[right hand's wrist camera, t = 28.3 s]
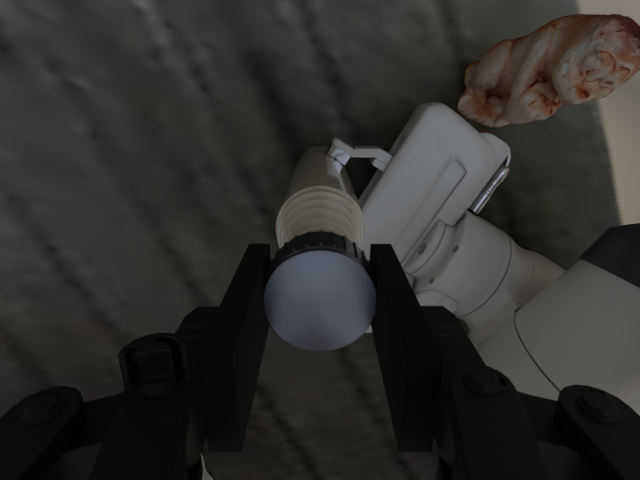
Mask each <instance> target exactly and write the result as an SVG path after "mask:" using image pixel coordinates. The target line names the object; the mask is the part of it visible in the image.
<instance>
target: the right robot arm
mask: <svg viewBox="0 0 640 480" xmlns="http://www.w3.org/2000/svg"><path fill="white" fill-rule="evenodd" d="M270 262H271V257H270V244H249V245H248V248H247V250H246V252H245V254H244V256H243V258H242V260H241V262H240V264H239V266H238V269H237V271H236V273H235V275H234V277H233V279H232V281H231V283H230V285H229V287H228V290H227V292H226V294H225V296H224V298H223V300H222V302H221V304H220V306H219V307H197V308H196V309H194V310H193V311H192V312H190V313H189V314H188V315H186V316H185V318H184V319H183V321H182V323H181V324H180V326H179V329H177V331H176V332H175V334H172V333H156V334H151V335H146V336H143V337H141V338H138V339H136V340H134V341H132V342H131V343H129V344H128V345H126V346H125V347H124V348H123V349H122V350H121V351H120V353H119V354H118V358H119V363H120V368H121V372H122V377H123V381H124V386H125V388H124V391H123V393H120V394H117V395H113V396H110V397H105V398H101V399H96V400H92V401H87V402H83V398H82V394H81V393H80V392H79V391H78V390H77V389H76V388H72V387H68V386H61V387H52V388H49V389H45V390H42V391H39V392H36V393H34V394H32V395H30V396H28V397H26V398H24V399H23V400H21V401H20V402H19V403H17V404H16V405H15V406H13V407H12V408H11V409H10V410H9V411H7V412H6V413H5V414H4V415H3V416H2V417H1V418H0V480H202V475H203V465H202V458H201V452H202V449H203V446H204V443H205V440H206V437H207V440H208V448H209V452H242V447H243V443H244V438H245V433H246V429H247V424H248V420H249V415H250V411H251V406H252V402H253V397H254V393H255V388H256V384H257V379H258V374H259V370H260V365H261V361H262V356H263V352H264V347H265V343H266V338H267V334H268V329H269V323H268V321H267V319H266V316H265V307H264V288H265V284H266V281H267V278H266V275H267V272H268V269H269V265H270ZM370 264H371V268H372V271H373V274H374V278H373V280H374V284H375V287H376V311H375V317H374V319H373V321H372V323H371V328H372V332H373V337H374V341H375V346H376V351H377V355H378V360H379V364H380V369H381V373H382V378H383V382H384V387H385V391H386V396H387V401H388V405H389V410H390V414H391V419H392V423H393V428H394V432H395V437H396V441H397V446H398V451H399V452H431V449H432V442H433V434H434V437H435V440H436V443H437V446H438V449H439V458H438V465H437V472H436V479H435V480H640V415H639V414H637V413H636V412H635V411H634V410H633V409H632V408H631V407H630V406H629V405H627V404H626V403H625V402H623V401H622V400H621V399H619V398H618V397H616V396H614V395H612V394H610V393H608V392H606V391H604V390H601V389H598V388H595V387H591V386H587V385H576V384H575V385H570V386H565V387H564V388H563V389H562V390H561V391H560V392H559V396H558V399H557V401H556V400H551V399H547V398H542V397H538V396H533V395H529V394H526V393H522V392H519V391H517V390H516V388H515V386H514V385H513V383H512V382H511V380H510V379H509V378H508V377H507V376H505V375H504V374H503V373H501V372H500V371H498V370H496V369H493V368H491V367H489V366H486V364H485V363H484V361H483V360H482V358H481V356H480V355H479V353H478V351H477V350H476V348H475V347H474V345H473V343H472V342H471V340H470V338H469V337H467V334H466V332H465V330H464V329H463V328H462V325H461V324H460V322H459V321H458V319H457V317H456V316H455V315H454V314H453V313H452V312H450V311H449V310H448V309H446V308H445V307H444V306H420V304H419V302H418V299H417V297H416V295H415V293H414V291H413V289H412V287H411V285H410V283H409V281H408V278H407V276H406V274H405V272H404V270H403V268H402V266H401V264H400V262H399V260H398V257H397V255H396V253H395V251H394V249H393V247H392V245H391V244H370Z"/></svg>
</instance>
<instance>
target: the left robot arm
mask: <svg viewBox="0 0 640 480" xmlns="http://www.w3.org/2000/svg"><path fill="white" fill-rule="evenodd" d="M326 154H327V155H328V156H330V157H332V158H337V160H338V161H339V162H340V163H341V164H343V165H346V163H347V161H348V160H349V158H350V157H367V158H370V159H369V161H370V162H371V164H372V165H373V166H375V167H377V168H378V169H377V171H376V173H375V174H374V176H373V177H372V179H371V180H370V182H369V184H368V185H367V187H366V188H365V190H364V191H363V193H362V195H361V196H360V198H359V199H358V203H359V206H360V208H361V211H362V214H363V217H364V221H365V235H364V241H363V245H362V248H361V251H362V250H363V251H364V253H365V256H366V258H367V260H369V261H370V244H391V245H392V247H393V249H394V251H395V253H396V255H397V257H398V260H399V262H400V264H401V266H402V268H403V270H404V272H405V274H406V276H407V278H408V281H409V283H410V285H411V287H412V289H413V291H414V293H415V295H416V297H417V299H418V302H419V304H420V306H444V307H445V308H446V309H448V310H449V311H450V312H452V313H453V314H454V315H455V316H456V317H457V318H460V319H462V320H463V321H464V322H465V323H466V324H467V326H468V327H469V333H468V334H467V337H469V338H470V340H471V342H472V343H473V345H474V347H475V348H476V350H477V351H478V353H479V355H480V356H481V358H482V360H483V361H484V363H485V364H486V366H489V367H491V368H493V369H496V370H498V371H500V372H501V373H503V374H504V375H505V376H507V377H508V378H509V379H510V380H511V382H512V383H513V385H514V386H515V388H516V390H517V391H519V392H522V393H526V394H529V395H533V396H538V397H542V398H547V399H551V400H556V401H557V399H558V396H559V392H560V391H561V390H562V389H563V388H564V387H565V386H570V385H575V384H576V385H587V386H591V387H595V388H598V389H601V390H604V391H606V392H608V393H610V394H612V395H614V396H616V397H618V398H619V399H621V400H622V401H623V402H625V403H626V404H627V405H629V406H630V407H631V408H632V409H633V410H634V411H635V412H636V413H637V414H639V415H640V223H638V224H629V225H622V226H616V227H610V228H609V229H608V230H607V231H606V232H605V233H604V234H603V235H602V236H601V237H600V238H599V239H598V240H597V241H596V242H595V243H594V244H593V245H592V246H590V247H589V248H588V249H587V250H586V251H585V252H584V253H583V254H582V255H581V256H580V257H579V258H578V260H579V261H578V262H576V263H575V264H574V265H573V266H572V267H570V268H569V269H568V270H567V271H565V270H564V269H562V268H561V267H560V266H558V265H557V264H555V263H554V262H552V261H550V260H549V259H547V258H546V257H544V256H542V255H541V254H539V253H536V252H533V251H529V250H525V249H522V248H521V247H519V246H518V245H517V244H516V243H515V242H514V240H513V239H512V238H511V237H510V236H509V235H508V234H506V233H505V232H503V231H502V230H500V229H498V228H497V227H495V226H494V225H492V224H490V223H489V222H487V221H485V220H484V219H482V218H481V217H479V216H478V214H479V213H480V212H481V210H482V209H483V208H484V206H485V205H486V204H487V202H488V201H489V200H490V198H491V196H492V195H493V193H494V190H496V188H497V187H498V186H499V184H500V183H502V182H503V181H504V180H505V179H506V177H507V175H508V174H509V172H510V169H509V168H508V166H509V164H510V161H511V151H510V148H509V146H508V144H507V143H506V142H505V141H503V140H502V139H500V138H499V137H497V136H496V135H494V134H493V133H491V132H488V131H477V130H476V129H475V128H474V127H473V126H471V125H470V124H469V123H468V122H467V121H466V120H465V119H463V118H462V117H461V116H460V115H459V114H457V113H456V112H455V111H453V110H452V109H451V108H449V107H448V106H446V105H445V104H442V103H439V102H430V103H425V104H421V105H419V106H418V107H417V108H416V110H415V111H414V113H413V114H412V116H411V118H410V119H409V121H408V122H407V124H406V125H405V127H404V129H403V130H402V132H401V133H400V135H399V136H398V138H397V140H396V141H395V143H394V144H393V146H392V147H391V149H390V151H389V152H386V151H384V150H383V149H381V148H380V147H378V146H353V147H352V146H350V145H349V144H347V143H345V142H344V141H342V140H340V139H339V138H337V137H334V138H333V140H332V142H331V144H330V145H329V147H328V149H327V151H326ZM504 160H505V162H504V164H502V163H503V161H504ZM467 208H468V209H467ZM365 333H372V328H371V325H370V326H369V328H368V329H367V331H366V332H365ZM201 458H202V465H203V475H202V480H213V478H212V477H211V476H210V475H209V473H208V472H207V470H206V468H205V463H204V459H203V456H202V453H201Z"/></svg>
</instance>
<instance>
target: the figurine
mask: <svg viewBox="0 0 640 480" xmlns="http://www.w3.org/2000/svg"><path fill="white" fill-rule="evenodd" d="M638 71H640V26H639V25H638V24H637V23H636V22H635V21H634V20H633V19H631V18H629V17H624V16H622V15H618V14H612V15H587V14H576V15H569V16H564V17H560V18H557V19H555V20H553V21H551V22H549V23H547V24H545V25H544V26H542V27H540V28H539V29H537V30H536V31H534V32H532V33H531V34H529V35H526V36H524V37H520V38H516V39H514V40H510V39H507V40H504V41H501V42H499V43H497V44H496V45H494V46H493V47H492V48H491V49H490V50H489V51H488V52H487V53H486V54H485V55H484V56H483V58H482V59H481V60H480V61H478V62H474V63H471V64H470V66H469V67H468V68H467V69H466V71H465V80H464V83H465V86H466V91H465V93H464V94H463V95H462V96H461V98H460V101H459V103H458V110H459V112H460V113H461V114H462V115H464V116H465V117H466V118H468V119H471V120H473V121H476V122H478V123H480V124H482V125H484V126H487V127H494V126H495V127H501V126H505V125H508V124H523V123H527V122H532V121H534V120H545V119H547V118H548V117H550V116H551V115H553V114H554V113H555V112H556V110H557V109H558V107H560V106H561V105H562V104H565V105H577V104H579V103H585V102H588V101H592V100H595V99H600V98H603V97H606V96H608V95H609V94H610V93H611V92H612V91H614V90H615V89H616V88H617V87H618V86H620V85H622V84H624V83H625V82H626V81H628V80H629V79H630V78H631V77H632V76H633V75H634V74H635V73H636V72H638Z"/></svg>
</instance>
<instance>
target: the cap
mask: <svg viewBox="0 0 640 480" xmlns="http://www.w3.org/2000/svg"><path fill="white" fill-rule="evenodd" d="M266 278H267V281H266V284H265V288H264V307H265V316H266V319H267V321H268V323H269V324H270V326H271V327H272V329H273V330H274V331H275V332H276V333H277V335H278V336H280V337H281V338H282V339H283V340H285V341H286V342H288V343H289V344H291V345H293V346H296V347H298V348H301V349H305V350H309V351H331V350H335V349H339V348H342V347H345V346H347V345H349V344H351V343H352V342H354V341H356V340H357V339H358V338H359V337H361V336H362V335H363V334H364V333H365V332H366V331H367V329H368V328H369V326H370V325H371V323H372V321H373V319H374V317H375V311H376V287H375V284H374V280H373V278H374V274H373V271H372V268H371V264H370V261H369V260H367V258H366V256H365V253H364V251H363V250H362V251H361V249H360V248H359V247H358V246H357V244H356V242H354V243H353V242H352V241H351V240H349V239H347V238H346V236H345V235H344V236H341V235H338V234H335V233H334V232H333V231H332V233H331V232H325V231H322V230H319V231H316V232H309V231H307V233H305V234H302V235H299V236H297V235H296V236H295V238H293V239H291V240H290V241H288V242H285V243H284V246H282V247H281V248H280V250H277V251H276V254H275V257H274V259H273V260H271V262H270V265H269V269H268V272H267V275H266Z"/></svg>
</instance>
